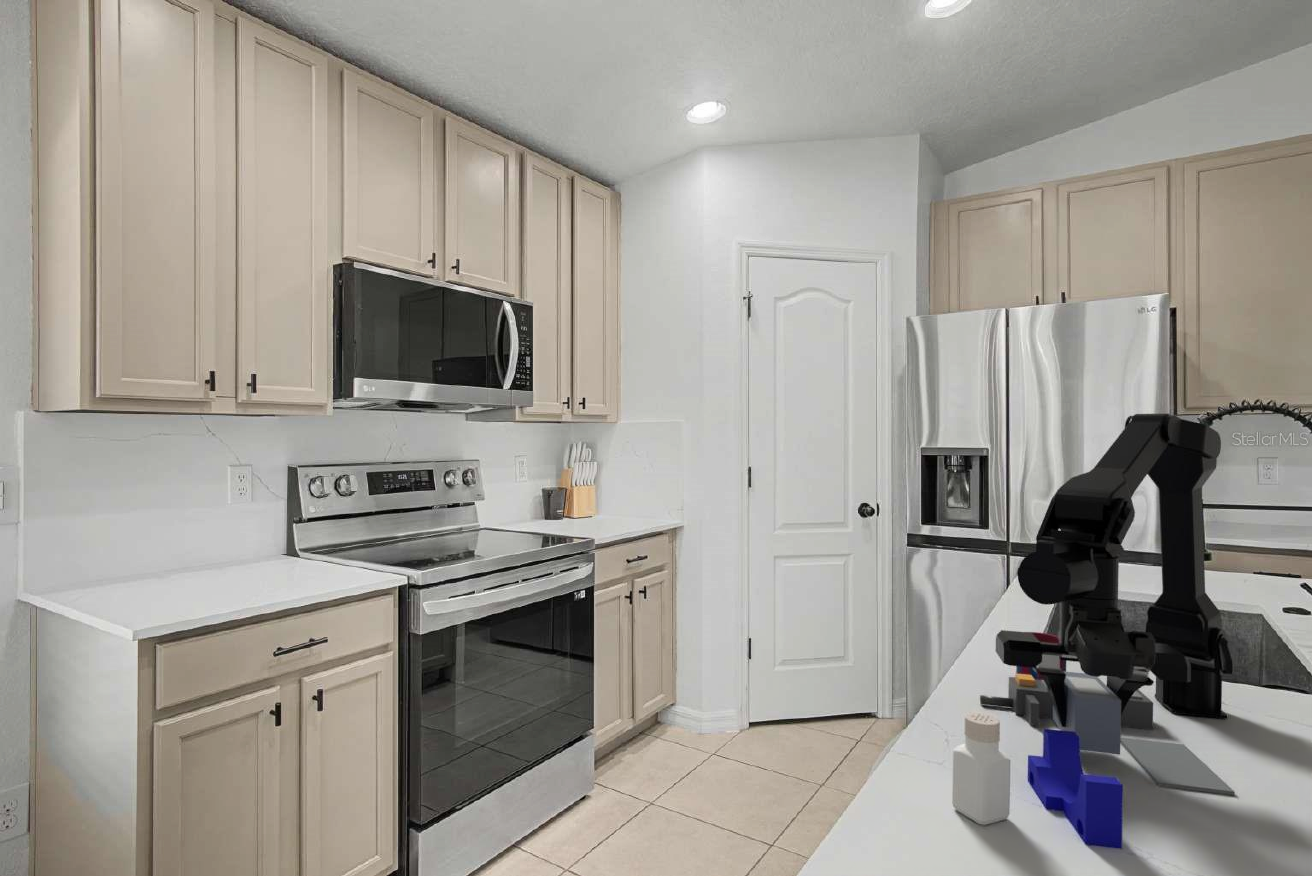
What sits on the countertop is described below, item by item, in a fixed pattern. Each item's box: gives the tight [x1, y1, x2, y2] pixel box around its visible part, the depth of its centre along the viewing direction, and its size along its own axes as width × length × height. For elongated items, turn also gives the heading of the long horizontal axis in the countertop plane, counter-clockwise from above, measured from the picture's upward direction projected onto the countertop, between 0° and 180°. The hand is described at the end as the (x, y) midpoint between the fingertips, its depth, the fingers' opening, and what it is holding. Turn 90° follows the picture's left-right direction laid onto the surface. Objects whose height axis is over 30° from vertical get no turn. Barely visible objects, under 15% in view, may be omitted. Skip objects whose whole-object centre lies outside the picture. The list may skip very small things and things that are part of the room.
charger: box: [1052, 671, 1122, 756], centre depth 83 cm, size 4×9×6 cm, turn 164°
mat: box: [1120, 737, 1236, 796], centre depth 82 cm, size 7×12×1 cm, turn 165°
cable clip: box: [1027, 728, 1124, 850], centre depth 71 cm, size 12×4×6 cm, turn 168°
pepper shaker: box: [951, 711, 1011, 826], centre depth 70 cm, size 4×4×10 cm
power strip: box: [979, 672, 1154, 731], centre depth 95 cm, size 20×8×4 cm, turn 75°
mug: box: [1015, 631, 1067, 680], centre depth 108 cm, size 7×10×7 cm
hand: (1086, 728), depth 83 cm, fingers closed on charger, 4 cm apart
